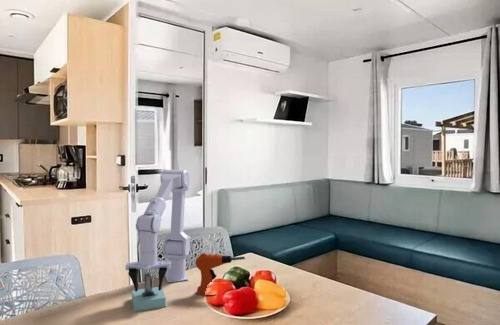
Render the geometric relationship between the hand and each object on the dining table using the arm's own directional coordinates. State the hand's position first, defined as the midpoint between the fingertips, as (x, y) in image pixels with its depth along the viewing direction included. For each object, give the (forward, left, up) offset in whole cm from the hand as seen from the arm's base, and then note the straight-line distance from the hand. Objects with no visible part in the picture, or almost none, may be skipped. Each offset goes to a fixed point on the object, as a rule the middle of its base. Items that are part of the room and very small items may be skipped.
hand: (148, 289), depth 120 cm
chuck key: (0, 0, -4) cm, 4 cm away
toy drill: (+1, +25, -5) cm, 25 cm away
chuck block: (0, 0, -4) cm, 4 cm away
